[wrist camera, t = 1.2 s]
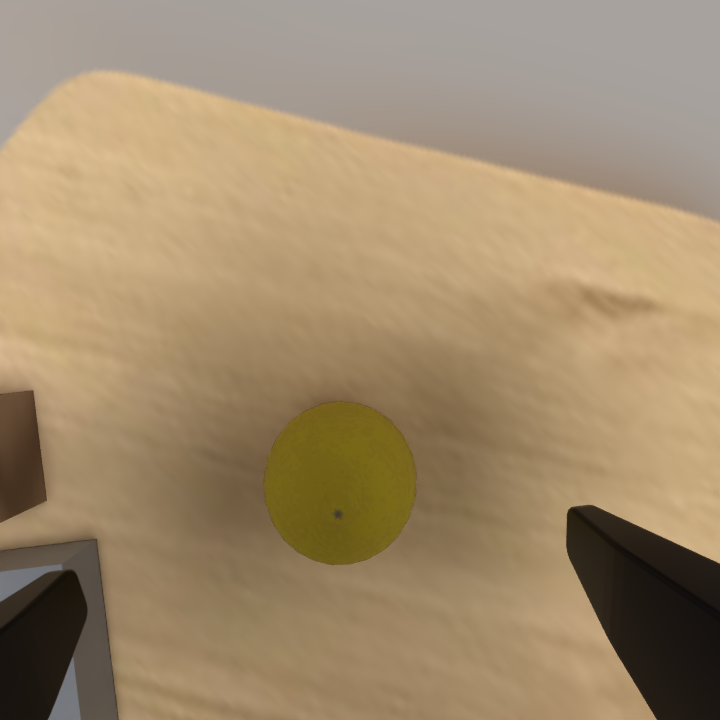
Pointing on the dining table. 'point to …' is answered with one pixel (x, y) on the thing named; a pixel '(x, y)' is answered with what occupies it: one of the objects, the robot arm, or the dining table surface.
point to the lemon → (340, 483)
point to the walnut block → (19, 455)
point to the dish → (92, 655)
